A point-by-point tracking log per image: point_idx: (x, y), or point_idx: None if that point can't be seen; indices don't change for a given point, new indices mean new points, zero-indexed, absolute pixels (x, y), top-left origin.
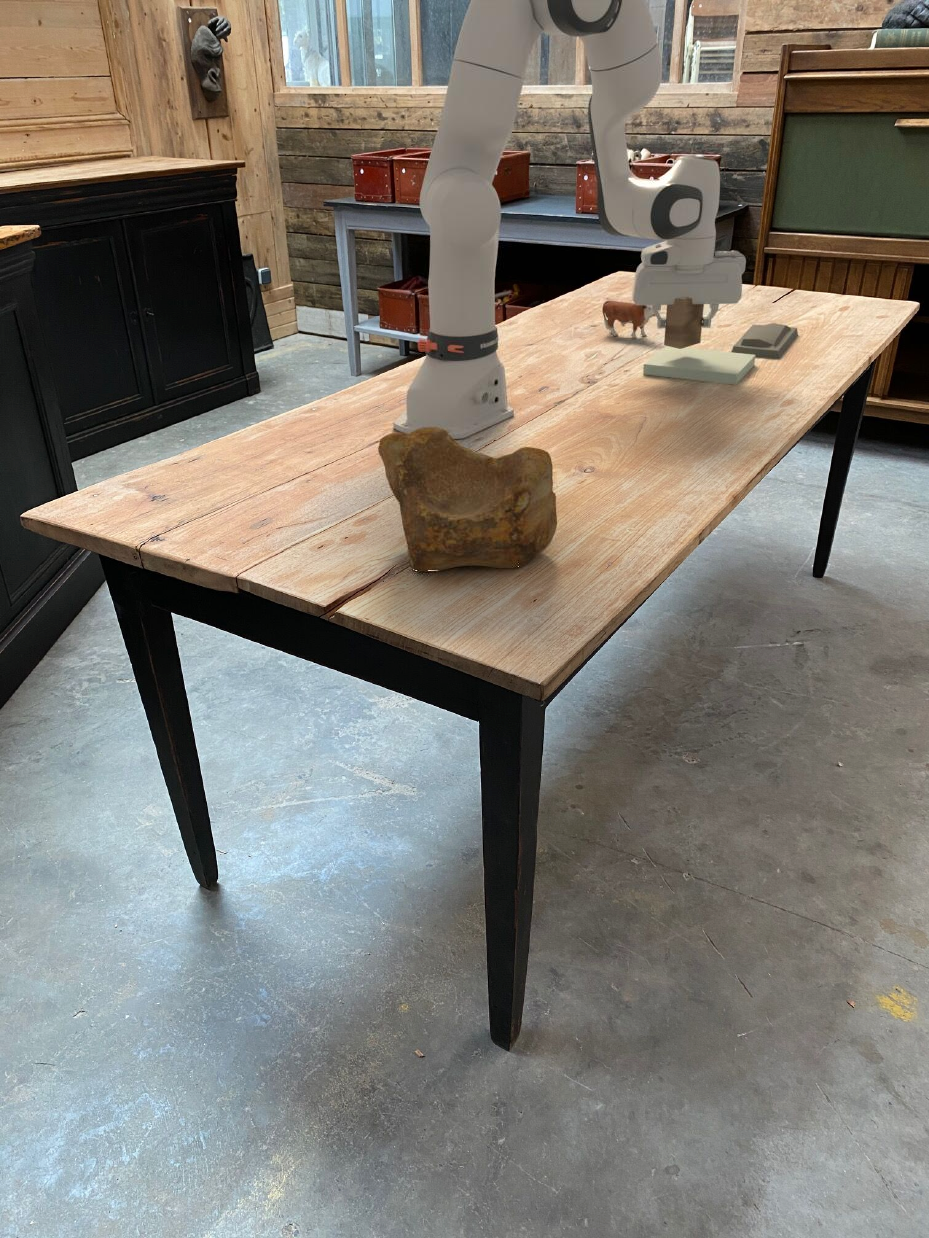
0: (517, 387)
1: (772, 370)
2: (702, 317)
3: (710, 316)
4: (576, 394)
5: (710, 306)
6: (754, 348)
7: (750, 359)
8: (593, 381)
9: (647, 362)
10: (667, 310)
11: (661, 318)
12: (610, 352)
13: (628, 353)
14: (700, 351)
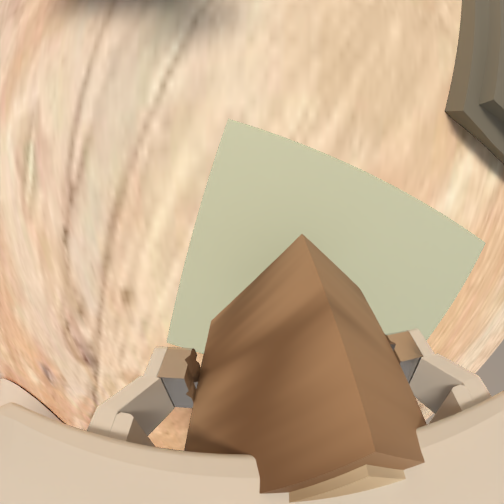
0: (20, 360)
1: (481, 271)
2: (398, 363)
3: (418, 396)
4: (96, 400)
5: (440, 418)
6: (499, 149)
7: (461, 286)
8: (90, 355)
9: (173, 330)
10: (191, 445)
11: (169, 404)
12: (59, 112)
13: (105, 108)
14: (361, 203)
